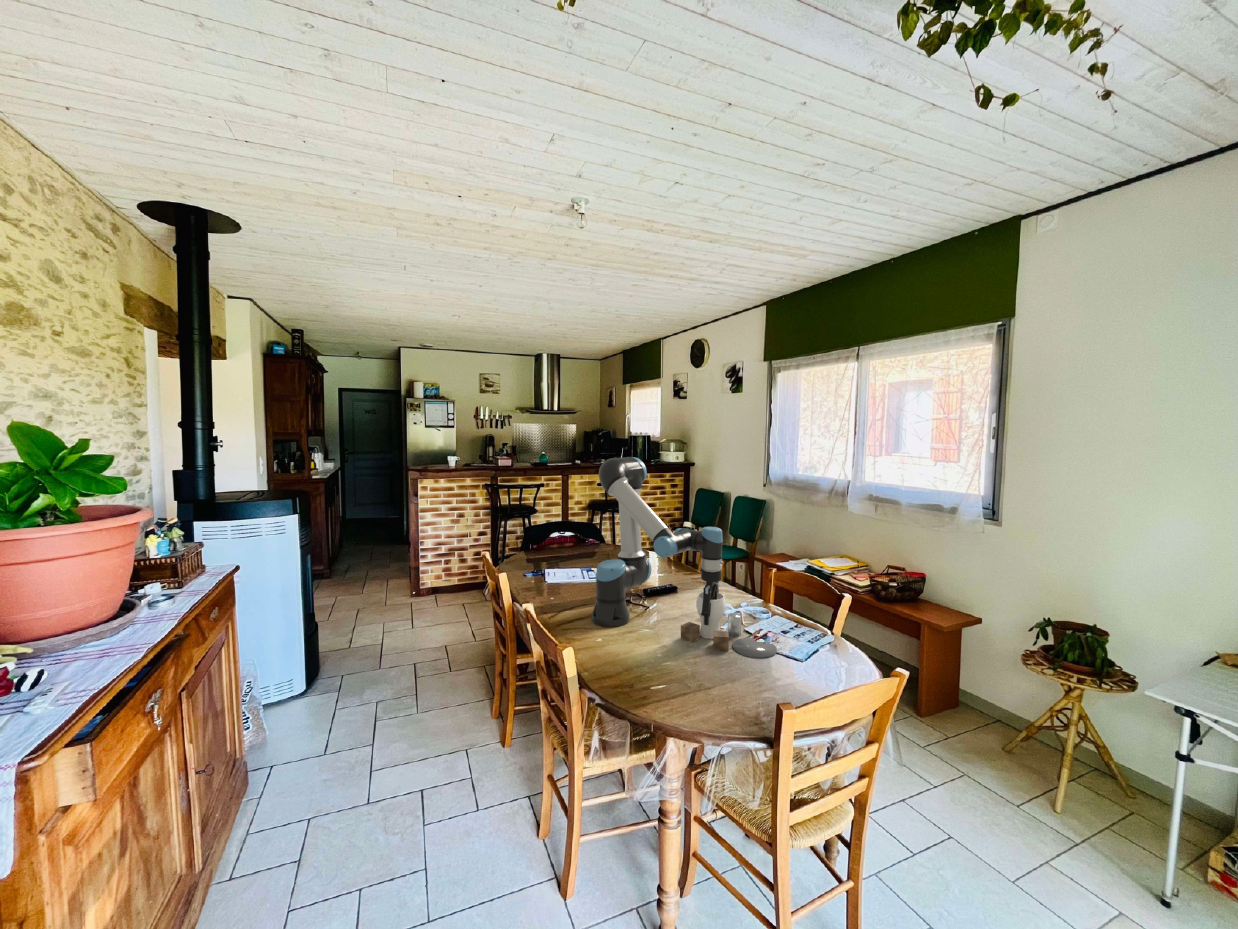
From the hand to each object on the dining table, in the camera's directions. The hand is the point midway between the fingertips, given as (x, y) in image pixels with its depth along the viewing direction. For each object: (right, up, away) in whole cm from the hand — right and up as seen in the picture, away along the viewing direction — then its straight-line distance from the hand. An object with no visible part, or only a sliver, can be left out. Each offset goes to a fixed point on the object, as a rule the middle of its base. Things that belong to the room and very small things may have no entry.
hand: (710, 627), depth 191 cm
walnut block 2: (+2, -4, -10) cm, 11 cm away
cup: (0, -3, 0) cm, 3 cm away
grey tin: (+9, -3, +2) cm, 10 cm away
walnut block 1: (-8, -3, -3) cm, 9 cm away
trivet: (+14, -4, -11) cm, 18 cm away
